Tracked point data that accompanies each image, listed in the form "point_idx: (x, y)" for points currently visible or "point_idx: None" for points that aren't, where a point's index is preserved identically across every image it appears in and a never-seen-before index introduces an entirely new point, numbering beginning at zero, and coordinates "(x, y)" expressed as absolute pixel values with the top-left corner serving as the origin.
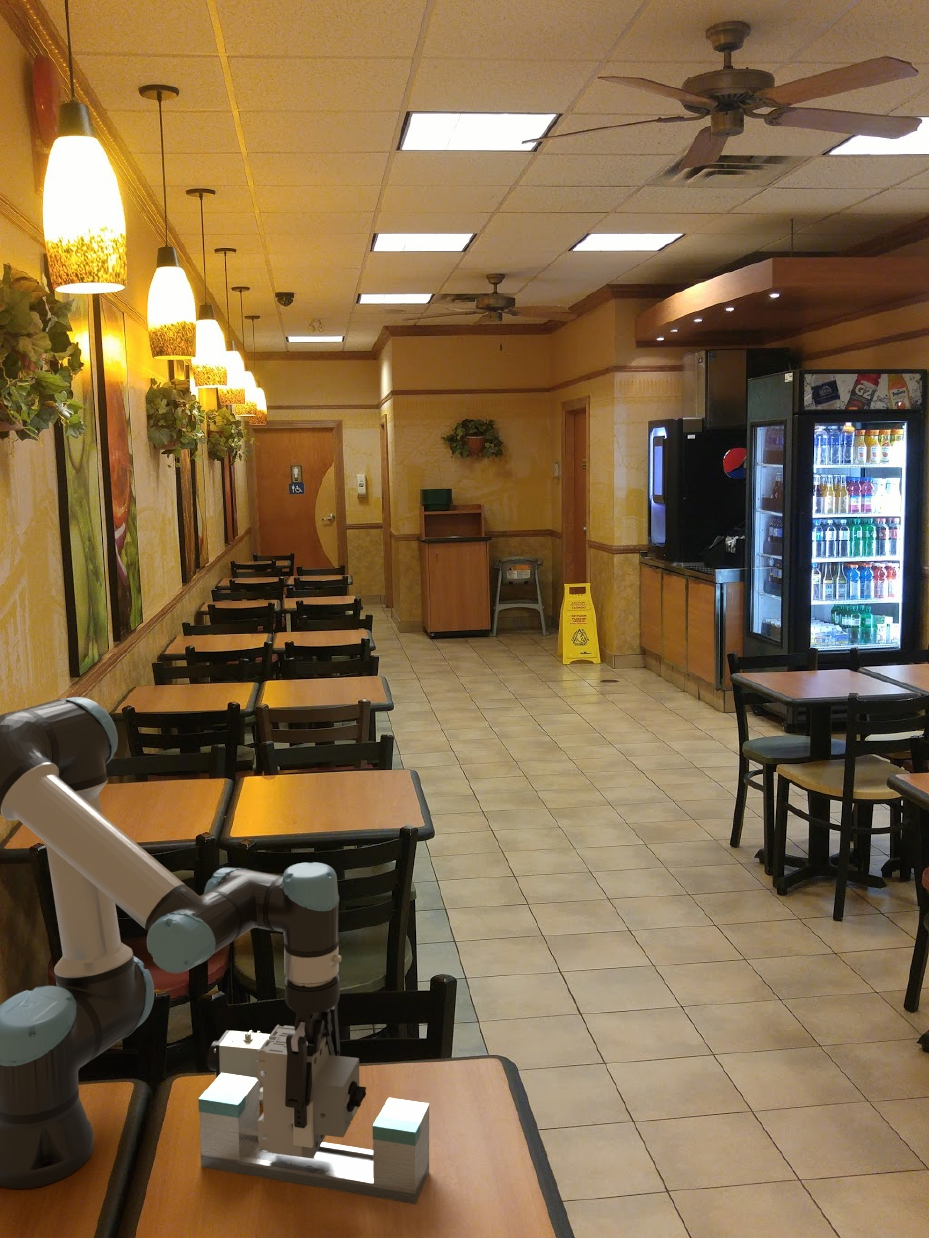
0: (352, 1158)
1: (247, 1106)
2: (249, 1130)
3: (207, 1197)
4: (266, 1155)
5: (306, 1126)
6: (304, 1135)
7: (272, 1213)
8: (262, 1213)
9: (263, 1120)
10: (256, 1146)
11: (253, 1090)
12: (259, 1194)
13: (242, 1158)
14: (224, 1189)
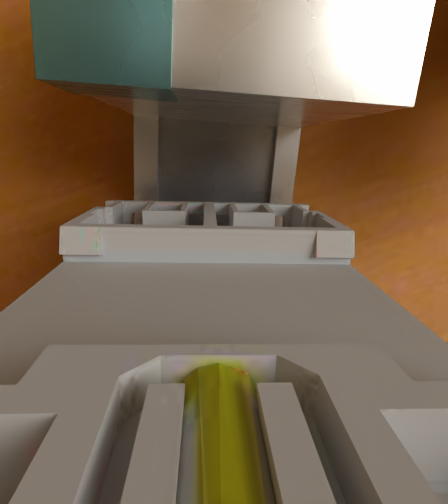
0: None
1: (207, 102)
2: (220, 116)
3: (9, 58)
4: (197, 189)
5: None
6: None
7: (13, 272)
8: (3, 247)
9: (73, 256)
10: (237, 138)
11: (304, 103)
12: (72, 211)
13: (148, 121)
14: (61, 99)
